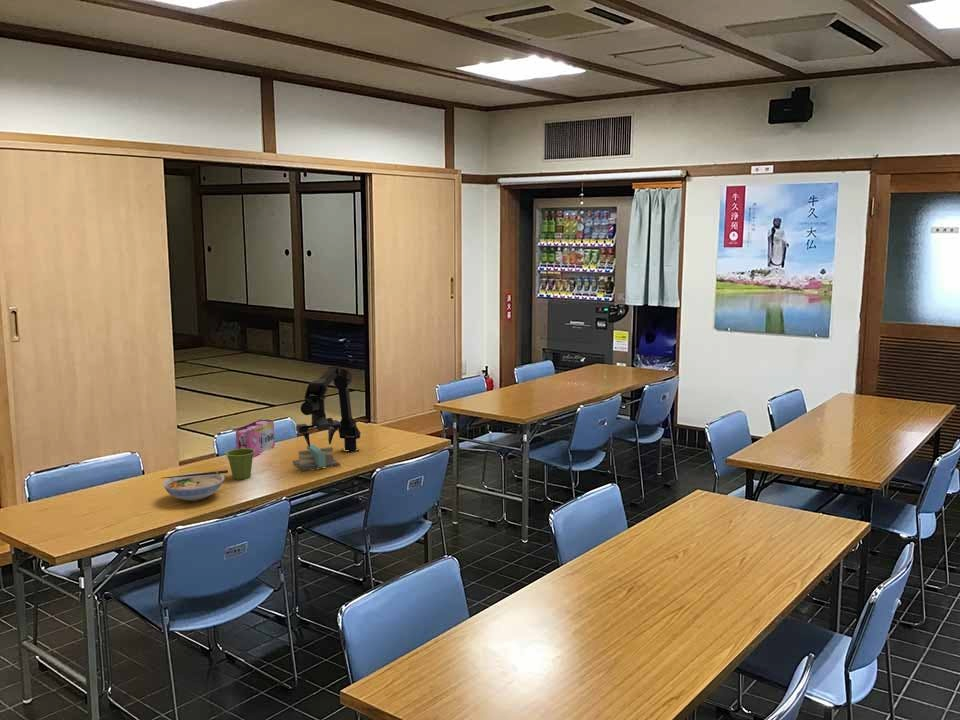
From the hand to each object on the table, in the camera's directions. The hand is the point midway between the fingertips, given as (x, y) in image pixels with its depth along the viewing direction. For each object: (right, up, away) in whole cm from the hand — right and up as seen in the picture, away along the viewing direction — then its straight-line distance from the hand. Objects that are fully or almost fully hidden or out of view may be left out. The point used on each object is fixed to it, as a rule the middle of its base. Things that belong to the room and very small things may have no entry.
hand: (319, 445), depth 352 cm
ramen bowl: (-41, -17, -39) cm, 59 cm away
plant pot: (-31, -13, -12) cm, 35 cm away
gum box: (-36, -7, +31) cm, 48 cm away
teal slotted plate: (-3, -8, +7) cm, 11 cm away
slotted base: (-3, -9, +7) cm, 12 cm away
